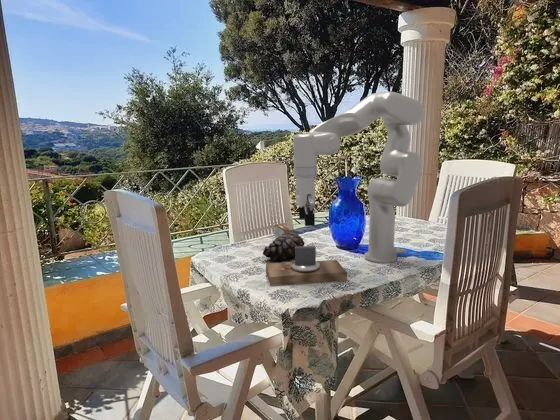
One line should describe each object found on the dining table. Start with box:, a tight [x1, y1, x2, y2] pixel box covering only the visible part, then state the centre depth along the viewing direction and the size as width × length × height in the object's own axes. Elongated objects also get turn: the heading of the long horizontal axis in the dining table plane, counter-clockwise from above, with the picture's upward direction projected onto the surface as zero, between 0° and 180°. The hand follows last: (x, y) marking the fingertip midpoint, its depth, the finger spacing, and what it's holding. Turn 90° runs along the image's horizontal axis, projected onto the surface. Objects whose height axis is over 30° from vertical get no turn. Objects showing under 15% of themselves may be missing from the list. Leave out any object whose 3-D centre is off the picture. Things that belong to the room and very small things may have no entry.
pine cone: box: [262, 231, 305, 264], centre depth 159 cm, size 10×18×10 cm, turn 137°
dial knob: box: [285, 245, 320, 272], centre depth 140 cm, size 12×10×7 cm
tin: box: [273, 223, 291, 239], centre depth 179 cm, size 15×3×8 cm, turn 22°
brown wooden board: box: [265, 259, 348, 287], centre depth 141 cm, size 26×13×3 cm, turn 98°
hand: (306, 222), depth 137 cm, fingers open, 9 cm apart
